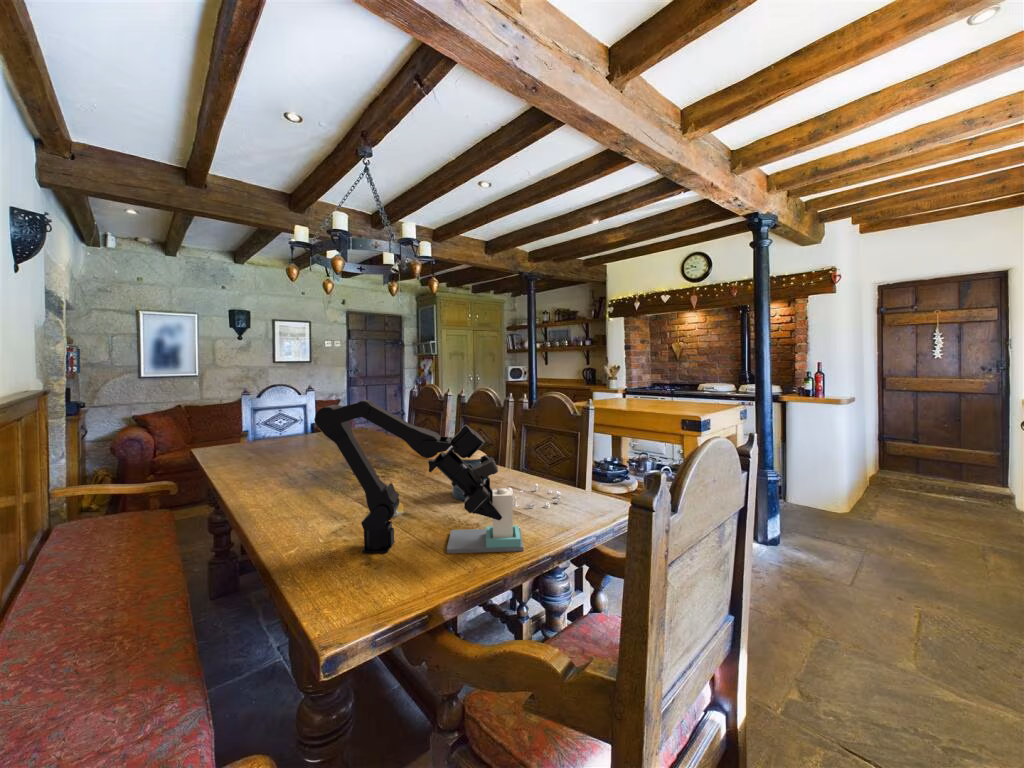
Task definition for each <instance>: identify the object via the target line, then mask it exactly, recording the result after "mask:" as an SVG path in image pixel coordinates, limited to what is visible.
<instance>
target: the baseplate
mask: <svg viewBox="0 0 1024 768" xmlns="http://www.w3.org/2000/svg"><path fill="white" fill-rule="evenodd" d="M503 552H505V553H507V552H524V542H523V536H522V531H521V527H519V525H513V538H493V525H492V526H490V525H489V526H488V525H487V526H486V527H485V528H478V529H477V528H475V529H473V528H469V529H468V528H467V529H451V530H450V534H449V538H448V543H447V546H446V554H470V553H472V554H473V553H503Z"/></svg>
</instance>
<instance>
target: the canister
mask: <svg viewBox="0 0 1024 768" xmlns="http://www.w3.org/2000/svg"><path fill="white" fill-rule="evenodd" d="M456 454H457V453H456ZM457 455H458V454H457ZM484 455H486V456H487V454H486V453H485V452H483V451H482V450H480V449H478V450H477V451H476V452H475V453H474V454H473V455H472V456H471V457H470V458H468V457H466V458H462V457H460V456H459V455H458V456H459V457H460V458H461V459H462V460H463V461H464V462H465V463H466V464H468V463H469V464H471V465H472V466H475V465H477V464H478V463H481V457H482V456H484ZM484 480H485V481H486V480H487V479H486V478H485V479H484ZM451 490H452V491H451V492H452V497H453V498H454V499H456V500H459V501H465V497H464V496H463V492H462V491H461V490H460V489H459V488H458V487H457V486H456V485H455V486H453V485H452V488H451Z"/></svg>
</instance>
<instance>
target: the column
mask: <svg viewBox="0 0 1024 768" xmlns="http://www.w3.org/2000/svg"><path fill="white" fill-rule="evenodd" d="M511 489H512V488H511ZM511 489H508V488H505V487H499V488H497V489H492V492H493V505H494V507H495V508H496V509H497V511H498V512H499V513H500V515H501V516H502V519H501V520H496V519H493V518H492V526H493V538H513V526H514V521H513V519H514V518H513V517H514V511H513V509H514V506H513V504H514V503H513V502H514V501H513V500H514V496H513V494H512V492H513V491H512V490H513V489H512V490H511Z"/></svg>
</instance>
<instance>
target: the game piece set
mask: <svg viewBox="0 0 1024 768" xmlns="http://www.w3.org/2000/svg"><path fill="white" fill-rule="evenodd" d="M507 489H511V490H512V495H513V494H514V492H513V489H512V488H511V487H508V488H507ZM538 489H539V484H538V483H534V491H535V492H538ZM524 490H525V487H523V488H522V490H519V493H524ZM547 492H548V494H549V495H552V493H553V491H552V490H551V489H549V490H548V491H547ZM555 492H556V497H555V498H556V499H552V502H553V503H554V504H557V505H558V504H559V503H560V502H561V499H562V497H561V492H560V491H555ZM517 499H518V498H517V496H516V495H514V496H513V500H514V501H513V507H515V508H517V507H519V503H518V501H517ZM534 502H536V500H535V499H533V500H532V501H531V502H529V503H528V501H526V506H525V508H528V509H533V508H534V507H535V506H536V504H533V503H534ZM544 508H545V509H550V508H551V505H550V503H549V501H546V502H544Z"/></svg>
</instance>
